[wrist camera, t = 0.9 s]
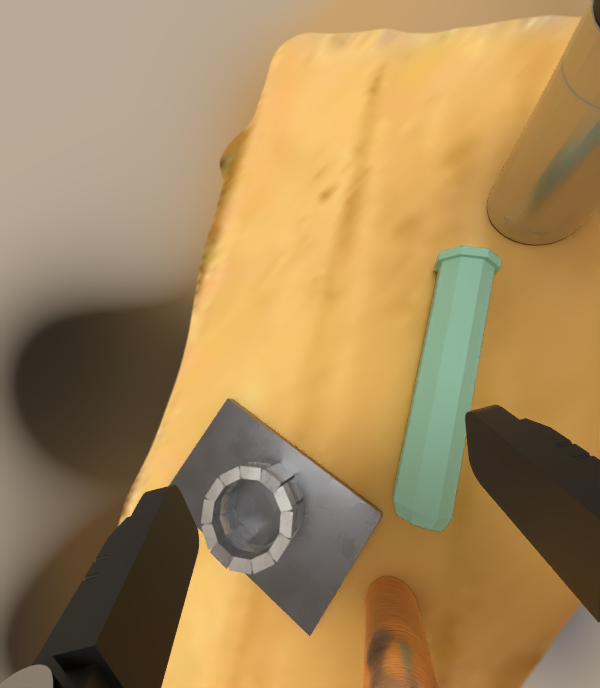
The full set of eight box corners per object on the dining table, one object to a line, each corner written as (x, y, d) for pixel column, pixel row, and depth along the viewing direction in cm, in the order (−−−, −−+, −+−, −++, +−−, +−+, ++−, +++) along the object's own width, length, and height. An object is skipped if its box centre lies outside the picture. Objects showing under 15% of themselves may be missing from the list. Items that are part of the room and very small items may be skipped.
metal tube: (381, 563, 28) (394, 723, 13) (429, 601, 27) (504, 830, 12) (354, 609, 28) (336, 828, 13) (401, 650, 27) (442, 952, 11)
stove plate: (232, 399, 35) (205, 394, 30) (381, 511, 29) (384, 532, 24) (170, 491, 34) (130, 505, 29) (312, 627, 28) (297, 678, 23)
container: (447, 551, 23) (499, 242, 27) (371, 515, 26) (428, 247, 30) (460, 536, 27) (503, 274, 31) (394, 507, 31) (441, 275, 35)
